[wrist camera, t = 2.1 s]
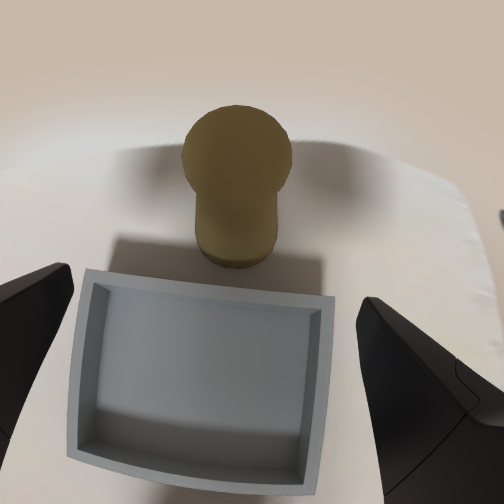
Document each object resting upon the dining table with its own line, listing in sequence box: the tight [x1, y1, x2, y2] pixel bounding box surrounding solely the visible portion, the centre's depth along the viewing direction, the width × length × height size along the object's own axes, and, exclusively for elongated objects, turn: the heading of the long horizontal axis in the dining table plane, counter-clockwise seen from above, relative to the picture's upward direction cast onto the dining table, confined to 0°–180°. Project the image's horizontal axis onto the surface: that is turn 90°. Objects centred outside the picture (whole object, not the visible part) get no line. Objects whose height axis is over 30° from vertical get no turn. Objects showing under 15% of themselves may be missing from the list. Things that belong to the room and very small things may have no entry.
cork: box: [182, 105, 292, 269], centre depth 19 cm, size 6×6×11 cm
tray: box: [67, 269, 335, 496], centre depth 19 cm, size 16×13×4 cm
